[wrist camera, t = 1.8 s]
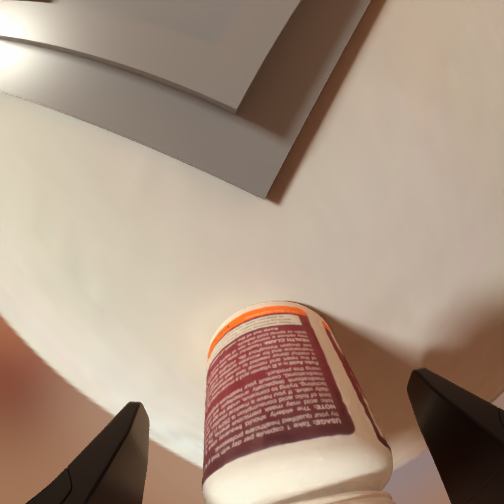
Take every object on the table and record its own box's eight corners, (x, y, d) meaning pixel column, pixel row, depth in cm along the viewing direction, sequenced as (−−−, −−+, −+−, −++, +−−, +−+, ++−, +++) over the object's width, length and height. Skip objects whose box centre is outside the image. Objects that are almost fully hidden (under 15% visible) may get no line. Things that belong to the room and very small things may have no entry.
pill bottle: (187, 370, 11) (170, 580, 4) (247, 274, 10) (293, 553, 2) (287, 405, 13) (326, 579, 5) (355, 326, 11) (461, 516, 3)
